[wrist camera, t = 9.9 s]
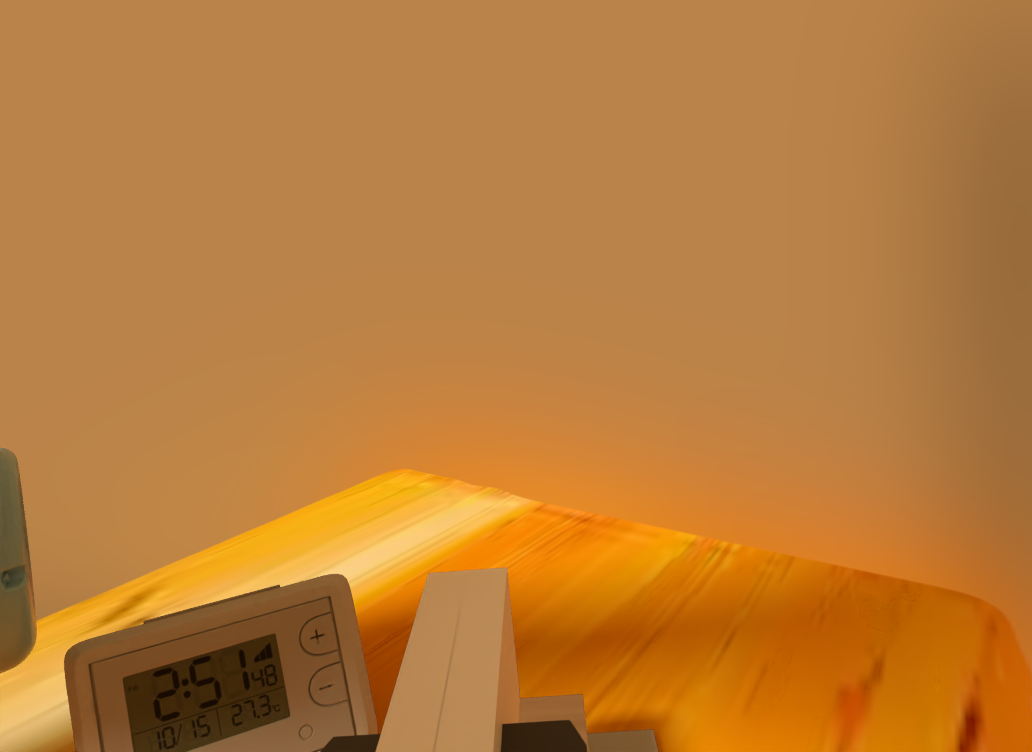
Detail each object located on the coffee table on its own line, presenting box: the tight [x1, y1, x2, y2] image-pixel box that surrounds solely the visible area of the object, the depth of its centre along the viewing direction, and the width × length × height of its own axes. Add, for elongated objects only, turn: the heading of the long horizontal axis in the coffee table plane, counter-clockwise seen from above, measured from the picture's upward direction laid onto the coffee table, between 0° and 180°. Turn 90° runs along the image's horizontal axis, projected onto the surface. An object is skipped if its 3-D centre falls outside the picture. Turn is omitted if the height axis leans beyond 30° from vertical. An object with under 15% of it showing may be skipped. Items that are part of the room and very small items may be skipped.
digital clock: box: [64, 574, 378, 752], centre depth 42 cm, size 16×9×11 cm, turn 102°
